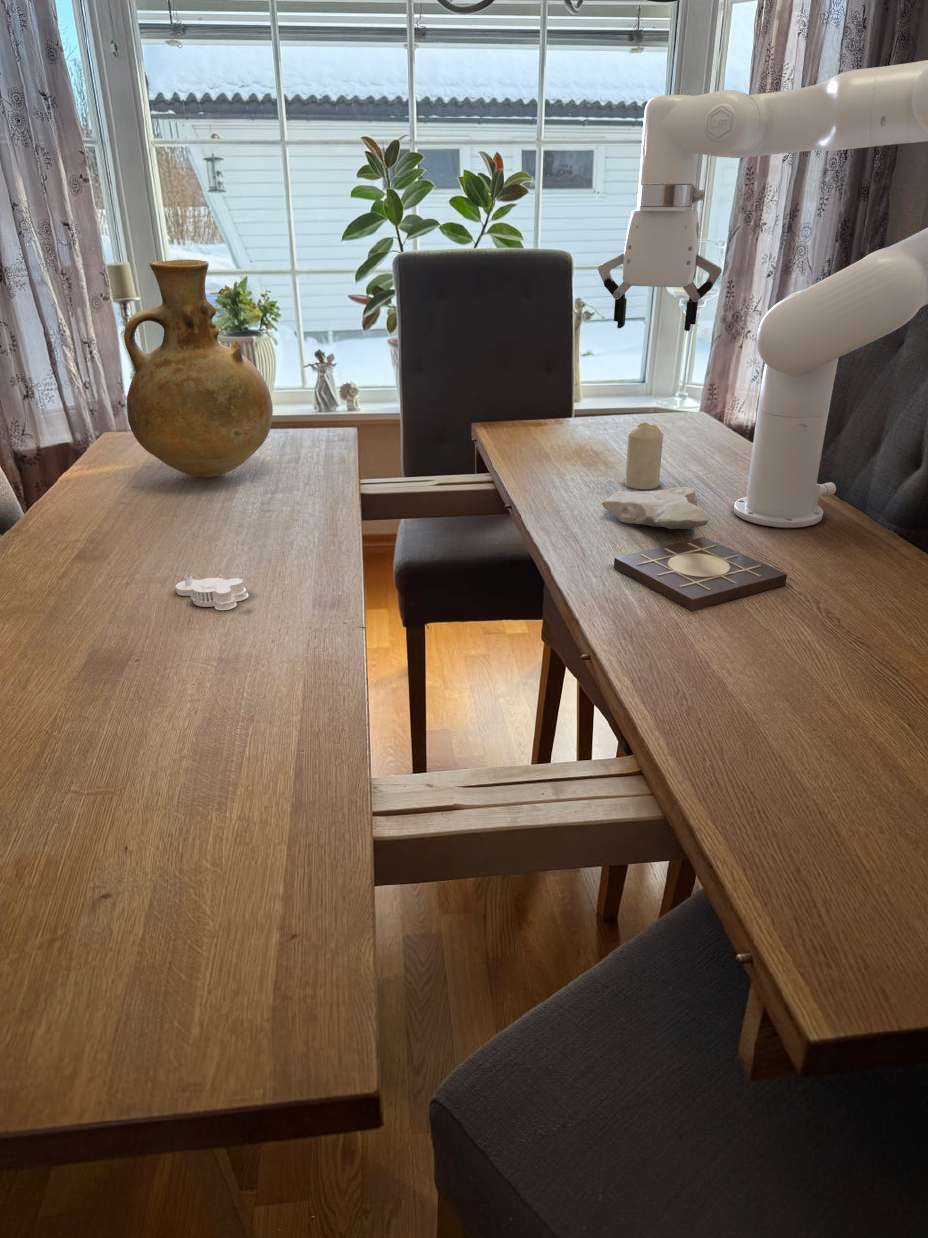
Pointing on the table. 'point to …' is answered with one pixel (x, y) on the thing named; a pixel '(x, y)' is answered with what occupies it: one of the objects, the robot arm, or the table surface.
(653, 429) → the candle
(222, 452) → the vase
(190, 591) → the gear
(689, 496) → the rock
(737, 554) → the board
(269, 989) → the table surface
